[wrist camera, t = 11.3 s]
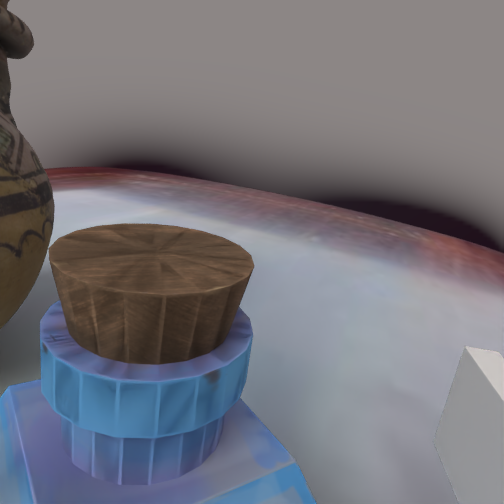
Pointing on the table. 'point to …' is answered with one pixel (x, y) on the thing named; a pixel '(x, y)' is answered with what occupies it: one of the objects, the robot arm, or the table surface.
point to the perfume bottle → (143, 380)
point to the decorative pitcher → (19, 185)
